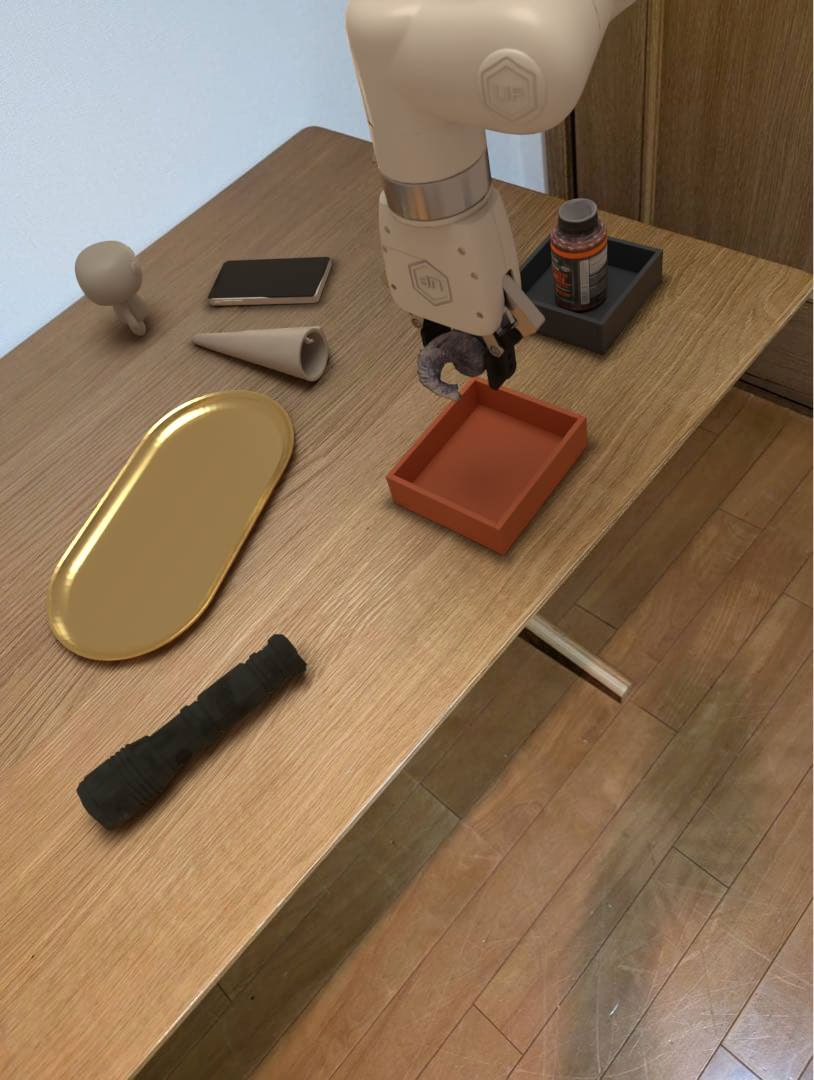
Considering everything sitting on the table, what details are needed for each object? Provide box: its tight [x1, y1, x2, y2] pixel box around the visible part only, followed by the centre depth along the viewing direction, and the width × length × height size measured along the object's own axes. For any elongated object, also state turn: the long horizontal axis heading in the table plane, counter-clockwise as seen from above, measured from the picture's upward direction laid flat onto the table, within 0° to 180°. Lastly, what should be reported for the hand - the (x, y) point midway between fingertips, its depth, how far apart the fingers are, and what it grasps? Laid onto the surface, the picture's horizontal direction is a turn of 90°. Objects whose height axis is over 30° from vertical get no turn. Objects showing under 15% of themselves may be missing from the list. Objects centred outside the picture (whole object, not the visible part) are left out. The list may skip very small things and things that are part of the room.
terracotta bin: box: [385, 376, 589, 556], centre depth 83 cm, size 13×15×4 cm
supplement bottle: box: [550, 197, 608, 311], centre depth 92 cm, size 6×6×11 cm
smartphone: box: [207, 256, 333, 306], centre depth 110 cm, size 8×1×15 cm
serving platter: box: [45, 389, 295, 662], centre depth 89 cm, size 19×35×2 cm, turn 159°
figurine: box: [74, 240, 148, 337], centre depth 106 cm, size 8×8×12 cm
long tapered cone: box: [191, 325, 331, 382], centre depth 100 cm, size 6×6×19 cm
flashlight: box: [75, 633, 308, 832], centre depth 72 cm, size 5×21×5 cm, turn 129°
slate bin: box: [512, 232, 664, 355], centre depth 95 cm, size 13×13×4 cm
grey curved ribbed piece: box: [416, 325, 502, 402], centre depth 72 cm, size 5×5×10 cm
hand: (471, 365), depth 73 cm, fingers closed on grey curved ribbed piece, 5 cm apart
